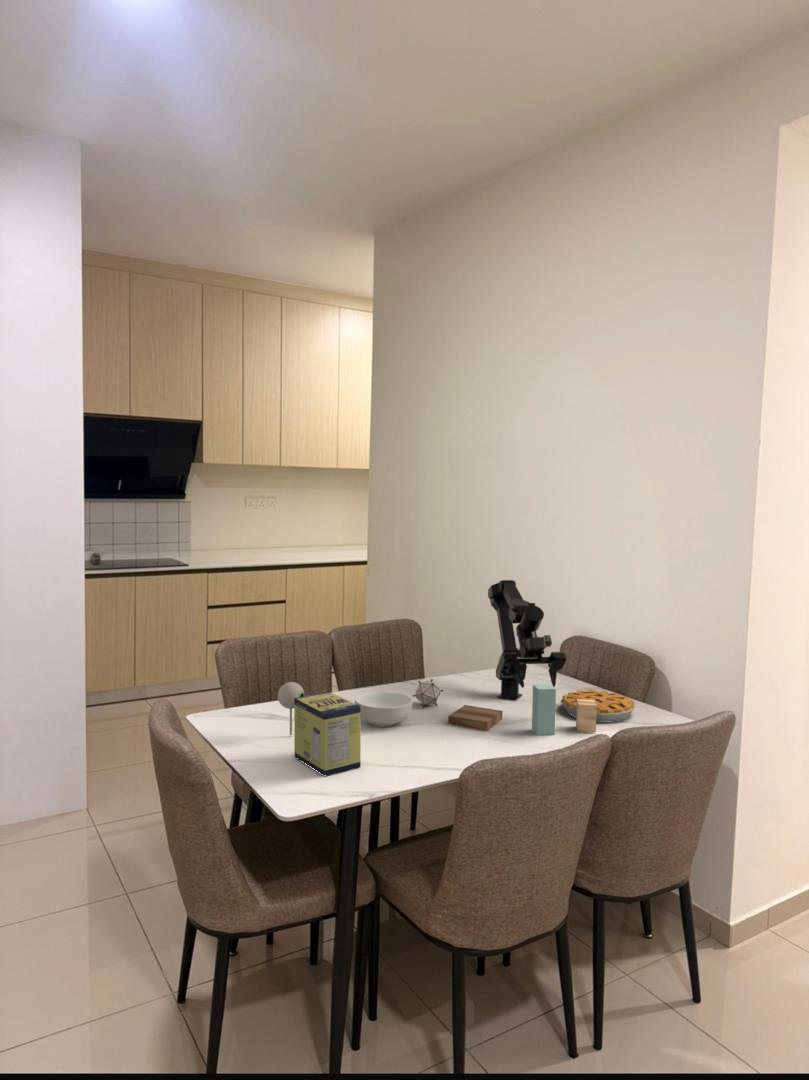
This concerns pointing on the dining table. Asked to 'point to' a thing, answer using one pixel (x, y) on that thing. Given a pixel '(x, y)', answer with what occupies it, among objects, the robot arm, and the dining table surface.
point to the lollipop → (289, 697)
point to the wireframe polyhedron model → (427, 693)
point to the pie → (601, 704)
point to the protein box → (327, 732)
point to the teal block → (543, 709)
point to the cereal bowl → (384, 707)
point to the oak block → (586, 715)
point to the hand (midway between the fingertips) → (538, 686)
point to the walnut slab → (475, 717)
